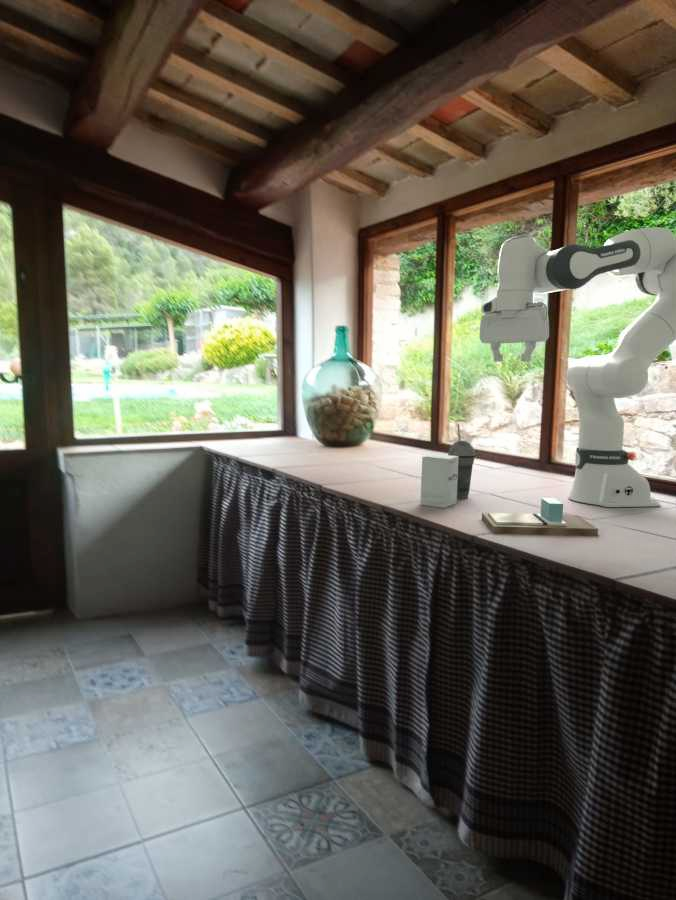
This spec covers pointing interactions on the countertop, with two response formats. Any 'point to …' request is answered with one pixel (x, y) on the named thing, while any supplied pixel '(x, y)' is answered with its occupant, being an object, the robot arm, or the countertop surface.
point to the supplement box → (439, 480)
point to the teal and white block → (552, 511)
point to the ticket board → (536, 524)
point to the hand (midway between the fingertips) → (511, 361)
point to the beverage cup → (463, 465)
